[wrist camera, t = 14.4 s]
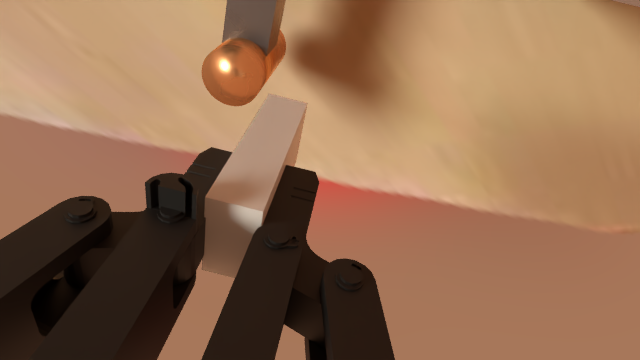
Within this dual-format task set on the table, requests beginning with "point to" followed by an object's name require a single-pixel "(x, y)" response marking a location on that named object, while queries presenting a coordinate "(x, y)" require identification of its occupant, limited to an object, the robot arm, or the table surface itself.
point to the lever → (245, 51)
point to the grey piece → (630, 2)
